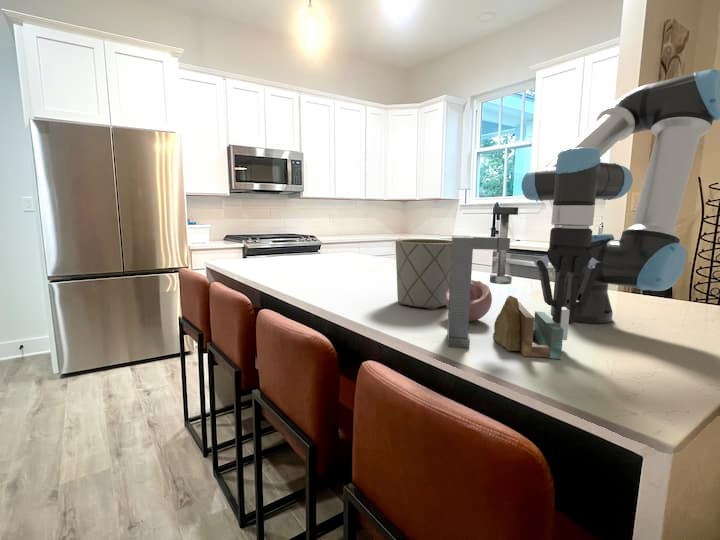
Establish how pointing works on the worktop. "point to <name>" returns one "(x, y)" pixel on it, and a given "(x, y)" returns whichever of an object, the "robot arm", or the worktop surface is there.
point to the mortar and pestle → (476, 300)
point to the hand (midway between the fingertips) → (561, 337)
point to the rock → (508, 325)
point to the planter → (423, 271)
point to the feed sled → (539, 335)
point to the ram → (500, 276)
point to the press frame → (465, 284)
